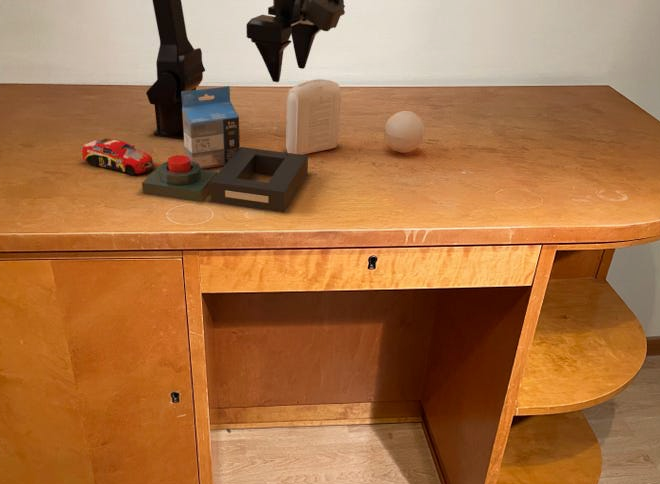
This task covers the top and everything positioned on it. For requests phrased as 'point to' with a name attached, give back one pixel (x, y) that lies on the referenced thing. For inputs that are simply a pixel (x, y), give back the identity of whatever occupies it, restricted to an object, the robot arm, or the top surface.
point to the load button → (179, 164)
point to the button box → (179, 183)
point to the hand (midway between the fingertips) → (289, 74)
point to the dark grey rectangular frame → (242, 191)
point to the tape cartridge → (210, 127)
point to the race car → (117, 156)
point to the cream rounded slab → (312, 116)
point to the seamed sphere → (404, 131)
